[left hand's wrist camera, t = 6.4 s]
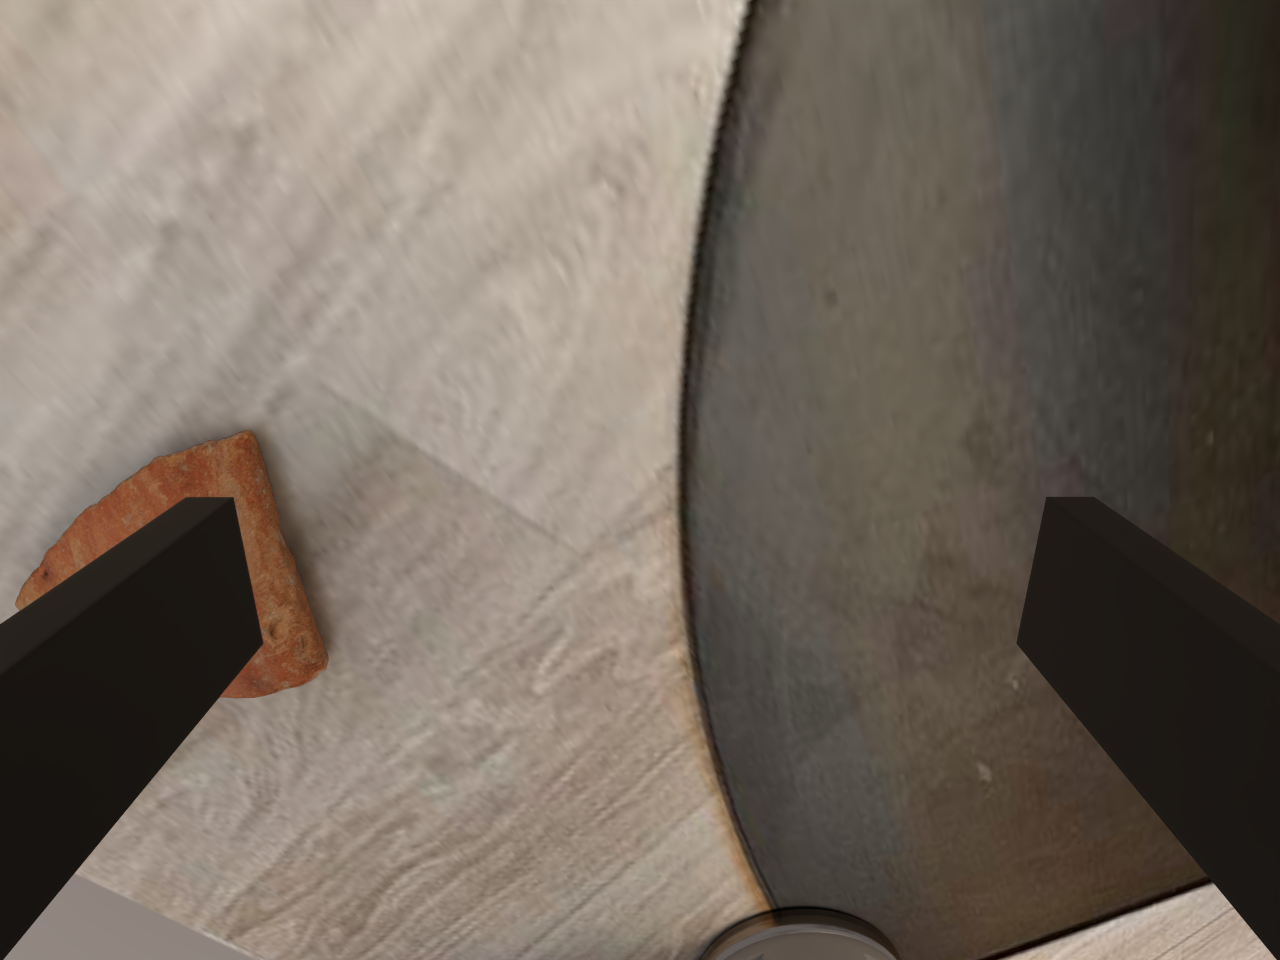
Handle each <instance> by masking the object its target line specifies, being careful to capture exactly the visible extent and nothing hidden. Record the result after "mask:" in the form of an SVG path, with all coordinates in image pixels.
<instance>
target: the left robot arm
mask: <svg viewBox="0 0 1280 960" xmlns="http://www.w3.org/2000/svg"><path fill="white" fill-rule="evenodd" d="M263 644H264V643H263V638H262V633H261V628H260V624H259V619H258V614H257V609H256V604H255V599H254V594H253V589H252V584H251V580H250V575H249V570H248V565H247V560H246V555H245V550H244V545H243V541H242V536H241V531H240V526H239V521H238V516H237V511H236V506H235V501H234V497H185V498H184V499H182V500H181V501H180V502H178V503H177V504H175V505H174V506H172V507H171V508H169V509H168V510H166V511H165V512H164V513H162V514H161V515H159V516H158V517H156V518H155V519H153V520H152V521H150V522H149V523H147V524H146V525H145V526H143V527H142V528H140V529H139V530H137V531H136V532H134V533H133V534H131V535H130V536H128V537H127V538H126V539H124V540H123V541H121V542H120V543H118V544H117V545H115V546H114V547H112V548H111V549H109V550H108V551H107V552H105V553H104V554H102V555H101V556H99V557H98V558H96V559H95V560H93V561H92V562H91V563H89V564H88V565H86V566H85V567H83V568H82V569H80V570H79V571H77V572H76V573H74V574H73V575H72V576H70V577H69V578H67V579H66V580H64V581H63V582H61V583H60V584H58V585H57V586H55V587H54V588H53V589H51V590H50V591H48V592H47V593H45V594H44V595H42V596H41V597H39V598H38V599H36V600H35V601H34V602H32V603H31V604H29V605H28V606H26V607H25V608H23V609H22V610H20V611H19V612H18V613H16V614H15V615H13V616H12V617H10V618H9V619H7V620H6V621H4V622H3V623H1V624H0V960H3V959H4V958H5V957H6V956H7V954H8V953H9V952H10V951H11V950H12V948H13V947H14V946H15V945H16V944H17V942H18V941H19V940H20V939H21V937H22V936H23V935H24V934H25V933H26V931H27V930H28V929H29V928H30V926H31V925H32V924H33V923H34V922H35V920H36V919H37V918H38V917H39V916H40V914H41V913H42V912H43V911H44V910H45V908H46V907H47V906H48V905H49V903H50V902H51V901H52V900H53V899H54V897H55V896H56V895H57V894H58V892H59V891H60V890H61V889H62V888H63V886H64V885H65V884H66V883H67V882H68V880H69V879H70V878H71V877H72V876H73V874H74V873H75V872H76V871H77V869H78V868H79V867H80V866H81V865H82V863H83V862H84V861H85V860H86V859H87V857H88V856H89V855H90V854H91V852H92V851H93V850H94V849H95V848H96V846H97V845H98V844H99V843H100V842H101V840H102V839H103V838H104V837H105V835H106V834H107V833H108V832H109V831H110V829H111V828H112V827H113V826H114V825H115V823H116V822H117V821H118V820H119V818H120V817H121V816H122V815H123V814H124V812H125V811H126V810H127V809H128V807H129V806H130V805H131V804H132V803H133V801H134V800H135V799H136V798H137V797H138V795H139V794H140V793H141V792H142V790H143V789H144V788H145V787H146V786H147V784H148V783H149V782H150V781H151V780H152V778H153V777H154V776H155V775H156V773H157V772H158V771H159V770H160V769H161V767H162V766H163V765H164V764H165V763H166V761H167V760H168V759H169V758H170V756H171V755H172V754H173V753H174V752H175V750H176V749H177V748H178V747H179V746H180V744H181V743H182V742H183V741H184V739H185V738H186V737H187V736H188V735H189V733H190V732H191V731H192V730H193V729H194V727H195V726H196V725H197V724H198V722H199V721H200V720H201V719H202V718H203V716H204V715H205V714H206V713H207V712H208V710H209V709H210V708H211V707H212V705H213V704H214V703H215V702H216V701H217V699H218V698H219V697H220V696H221V695H222V693H223V692H224V691H225V690H226V688H227V687H228V686H229V685H230V684H231V682H232V681H233V680H234V679H235V678H236V676H237V675H238V674H239V673H240V671H241V670H242V669H243V668H244V667H245V665H246V664H247V663H248V662H249V661H250V659H251V658H252V657H253V656H254V654H255V653H256V652H257V651H258V650H259V648H260V647H261V646H262V645H263ZM1016 644H1017V645H1018V646H1019V647H1020V648H1021V650H1022V651H1023V652H1024V653H1025V654H1026V656H1027V657H1028V658H1029V659H1030V661H1031V662H1032V663H1033V664H1034V665H1035V667H1036V668H1037V669H1038V670H1039V671H1040V673H1041V674H1042V675H1043V676H1044V678H1045V679H1046V680H1047V681H1048V682H1049V684H1050V685H1051V686H1052V687H1053V688H1054V690H1055V691H1056V692H1057V693H1058V695H1059V696H1060V697H1061V698H1062V699H1063V701H1064V702H1065V703H1066V704H1067V705H1068V707H1069V708H1070V709H1071V710H1072V712H1073V713H1074V714H1075V715H1076V716H1077V718H1078V719H1079V720H1080V721H1081V722H1082V724H1083V725H1084V726H1085V727H1086V729H1087V730H1088V731H1089V732H1090V733H1091V735H1092V736H1093V737H1094V738H1095V739H1096V741H1097V742H1098V743H1099V744H1100V746H1101V747H1102V748H1103V749H1104V750H1105V752H1106V753H1107V754H1108V755H1109V756H1110V758H1111V759H1112V760H1113V761H1114V763H1115V764H1116V765H1117V766H1118V767H1119V769H1120V770H1121V771H1122V772H1123V773H1124V775H1125V776H1126V777H1127V778H1128V780H1129V781H1130V782H1131V783H1132V784H1133V786H1134V787H1135V788H1136V789H1137V790H1138V792H1139V793H1140V794H1141V795H1142V797H1143V798H1144V799H1145V800H1146V801H1147V803H1148V804H1149V805H1150V806H1151V808H1152V809H1153V810H1154V811H1155V812H1156V814H1157V815H1158V816H1159V817H1160V818H1161V820H1162V821H1163V822H1164V823H1165V825H1166V826H1167V827H1168V828H1169V829H1170V831H1171V832H1172V833H1173V834H1174V835H1175V837H1176V838H1177V839H1178V840H1179V842H1180V843H1181V844H1182V845H1183V846H1184V848H1185V849H1186V850H1187V851H1188V852H1189V854H1190V855H1191V856H1192V857H1193V859H1194V860H1195V861H1196V862H1197V863H1198V865H1199V866H1200V867H1201V868H1202V869H1203V871H1204V872H1205V873H1206V874H1207V876H1208V877H1209V878H1210V879H1211V880H1212V882H1213V883H1214V884H1215V885H1216V886H1217V888H1218V889H1219V890H1220V891H1221V893H1222V894H1223V895H1224V896H1225V897H1226V899H1227V900H1228V901H1229V902H1230V903H1231V905H1232V906H1233V907H1234V908H1235V910H1236V911H1237V912H1238V913H1239V914H1240V916H1241V917H1242V918H1243V919H1244V920H1245V922H1246V923H1247V924H1248V925H1249V927H1250V928H1251V929H1252V930H1253V931H1254V933H1255V934H1256V935H1257V936H1258V937H1259V939H1260V940H1261V941H1262V942H1263V944H1264V945H1265V946H1266V947H1267V948H1268V950H1269V951H1270V952H1271V953H1272V954H1273V956H1274V957H1275V958H1276V959H1277V960H1280V624H1279V623H1277V622H1276V621H1274V620H1273V619H1271V618H1270V617H1268V616H1267V615H1265V614H1264V613H1262V612H1261V611H1260V610H1258V609H1257V608H1255V607H1254V606H1252V605H1251V604H1249V603H1248V602H1246V601H1245V600H1244V599H1242V598H1241V597H1239V596H1238V595H1236V594H1235V593H1233V592H1232V591H1230V590H1229V589H1227V588H1226V587H1225V586H1223V585H1222V584H1220V583H1219V582H1217V581H1216V580H1214V579H1213V578H1211V577H1210V576H1208V575H1207V574H1206V573H1204V572H1203V571H1201V570H1200V569H1198V568H1197V567H1195V566H1194V565H1192V564H1191V563H1189V562H1188V561H1187V560H1185V559H1184V558H1182V557H1181V556H1179V555H1178V554H1176V553H1175V552H1173V551H1172V550H1171V549H1169V548H1168V547H1166V546H1165V545H1163V544H1162V543H1160V542H1159V541H1157V540H1156V539H1154V538H1153V537H1152V536H1150V535H1149V534H1147V533H1146V532H1144V531H1143V530H1141V529H1140V528H1138V527H1137V526H1135V525H1134V524H1133V523H1131V522H1130V521H1128V520H1127V519H1125V518H1124V517H1122V516H1121V515H1119V514H1118V513H1116V512H1115V511H1114V510H1112V509H1111V508H1109V507H1108V506H1106V505H1105V504H1103V503H1102V502H1100V501H1099V500H1098V499H1096V498H1095V497H1046V501H1045V506H1044V511H1043V516H1042V521H1041V526H1040V531H1039V536H1038V541H1037V545H1036V550H1035V555H1034V560H1033V565H1032V570H1031V575H1030V580H1029V584H1028V589H1027V594H1026V599H1025V604H1024V609H1023V614H1022V619H1021V623H1020V628H1019V633H1018V638H1017V643H1016ZM701 960H900V957H899V955H898V953H897V951H896V949H895V948H894V946H893V945H892V943H891V942H890V941H889V940H888V939H887V938H886V937H885V936H884V935H883V934H882V933H881V932H879V931H878V930H877V929H875V928H874V927H872V926H871V925H869V924H867V923H866V922H864V921H861V920H859V919H857V918H854V917H852V916H849V915H846V914H842V913H838V912H833V911H828V910H820V909H793V910H784V911H778V912H773V913H769V914H765V915H762V916H759V917H755V918H753V919H750V920H748V921H745V922H743V923H741V924H739V925H737V926H736V927H734V928H732V929H731V930H729V931H727V932H726V933H725V934H723V935H722V936H721V937H719V938H718V939H717V940H716V941H715V942H714V943H713V944H712V945H711V946H710V947H709V948H708V949H707V951H706V952H705V954H704V955H703V956H702V958H701Z"/></svg>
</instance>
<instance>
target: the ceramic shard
mask: <svg viewBox="0 0 1280 960" xmlns="http://www.w3.org/2000/svg"><path fill="white" fill-rule="evenodd" d="M185 497H234V501H235V506H236V511H237V516H238V521H239V526H240V531H241V536H242V541H243V545H244V550H245V555H246V560H247V565H248V570H249V575H250V580H251V584H252V589H253V594H254V599H255V604H256V609H257V614H258V619H259V624H260V628H261V633H262V638H263V643H264V644H263V645H262V646H261V647H260V648H259V650H258V651H257V652H256V653H255V654H254V656H253V657H252V658H251V659H250V661H249V662H248V663H247V664H246V665H245V667H244V668H243V669H242V670H241V671H240V673H239V674H238V675H237V676H236V678H235V679H234V680H233V681H232V682H231V684H230V685H229V686H228V687H227V688H226V690H225V691H224V692H223V693H222V695H221V696H220V697H227V698H254V697H260V696H266V695H269V694H273V693H276V692H278V691H281V690H284V689H288V688H293V687H299V686H302V685H304V684H306V683H308V682H309V681H311V680H313V679H314V678H315V677H317V676H318V675H319V674H320V673H321V672H322V671H324V670H326V668H327V664H328V660H329V659H328V654H327V651H326V649H325V647H324V644H323V642H322V639H321V636H320V634H319V631H318V628H317V626H316V623H315V620H314V617H313V614H312V611H311V608H310V605H309V603H308V600H307V597H306V594H305V590H304V587H303V585H302V582H301V579H300V577H299V575H298V572H297V569H296V563H295V559H294V557H293V555H292V553H291V552H290V550H289V548H288V546H287V545H286V542H285V539H284V537H283V534H282V531H281V528H280V526H279V514H278V510H277V507H276V504H275V500H274V496H273V492H272V488H271V484H270V481H269V477H268V475H267V471H266V467H265V464H264V460H263V457H262V453H261V450H260V447H259V444H258V442H257V439H256V437H255V435H254V434H253V433H252V432H251V431H242V432H239V433H237V434H235V435H233V436H231V437H229V438H225V439H221V440H219V441H212V440H209V441H207V442H206V443H204V444H201V445H196V446H193V447H192V448H189V449H187V450H185V451H182V452H178V453H174V454H171V455H167V456H159V457H155V458H154V459H153V460H152V461H151V463H150V464H149V465H148V466H145V467H143V468H141V469H140V470H139V471H138V472H137V473H135V474H134V475H132V476H131V477H129V478H127V479H126V480H124V481H123V482H121V483H120V484H119V485H118V486H117V487H116V488H115V489H114V490H113V491H112V492H111V493H110V494H109V495H107V496H105V497H103V498H102V499H101V500H100V501H99V502H98V503H97V504H95V505H92V506H89V507H88V508H87V509H85V510H84V511H83V512H82V513H81V514H80V515H79V516H78V517H77V518H76V520H75V521H74V523H73V524H72V525H71V526H70V527H69V528H68V529H67V530H66V531H65V532H64V534H63V535H62V536H61V537H60V539H59V540H58V542H57V543H56V544H55V545H54V546H52V547H51V548H50V549H49V550H48V551H47V552H46V554H45V556H44V559H43V561H42V563H41V564H40V566H39V567H38V568H37V569H36V570H35V571H34V572H33V573H32V574H31V575H30V577H29V578H28V579H27V581H26V582H25V583H24V585H23V587H22V588H21V590H20V593H19V596H18V597H17V600H16V603H15V605H16V607H17V608H18V609H19V611H20V610H22V609H23V608H25V607H26V606H28V605H29V604H31V603H32V602H34V601H35V600H36V599H38V598H39V597H41V596H42V595H44V594H45V593H47V592H48V591H50V590H51V589H53V588H54V587H55V586H57V585H58V584H60V583H61V582H63V581H64V580H66V579H67V578H69V577H70V576H72V575H73V574H74V573H76V572H77V571H79V570H80V569H82V568H83V567H85V566H86V565H88V564H89V563H91V562H92V561H93V560H95V559H96V558H98V557H99V556H101V555H102V554H104V553H105V552H107V551H108V550H109V549H111V548H112V547H114V546H115V545H117V544H118V543H120V542H121V541H123V540H124V539H126V538H127V537H128V536H130V535H131V534H133V533H134V532H136V531H137V530H139V529H140V528H142V527H143V526H145V525H146V524H147V523H149V522H150V521H152V520H153V519H155V518H156V517H158V516H159V515H161V514H162V513H164V512H165V511H166V510H168V509H169V508H171V507H172V506H174V505H175V504H177V503H178V502H180V501H181V500H182V499H184V498H185Z"/></svg>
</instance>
